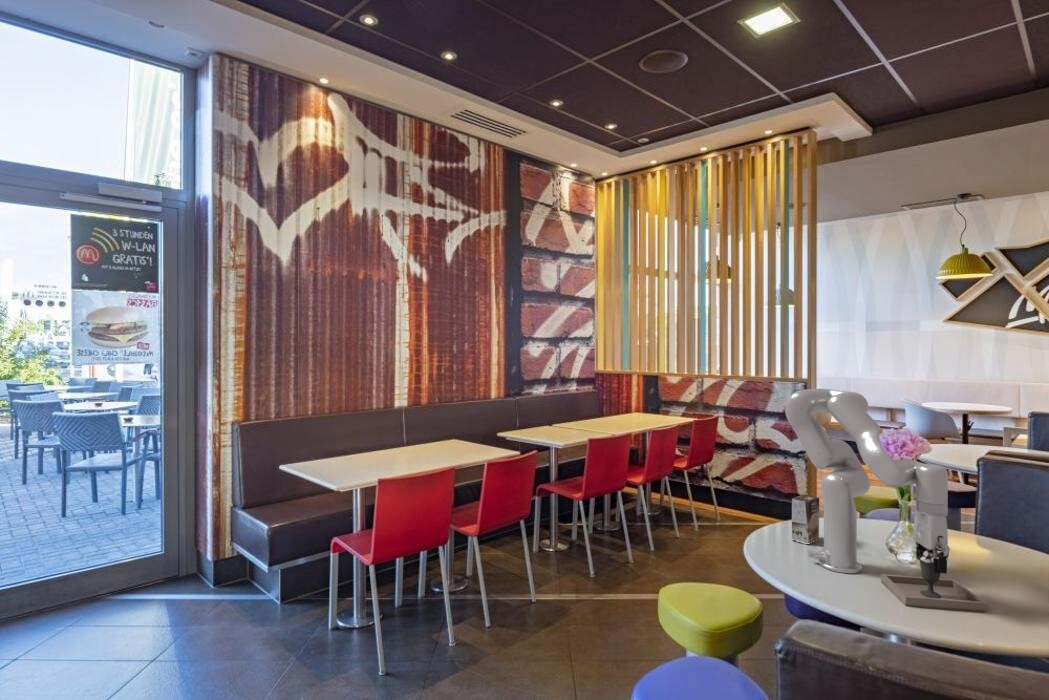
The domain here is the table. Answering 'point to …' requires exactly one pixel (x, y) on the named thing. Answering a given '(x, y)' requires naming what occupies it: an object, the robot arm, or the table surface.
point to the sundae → (928, 572)
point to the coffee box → (805, 518)
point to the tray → (949, 589)
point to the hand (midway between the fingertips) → (931, 566)
